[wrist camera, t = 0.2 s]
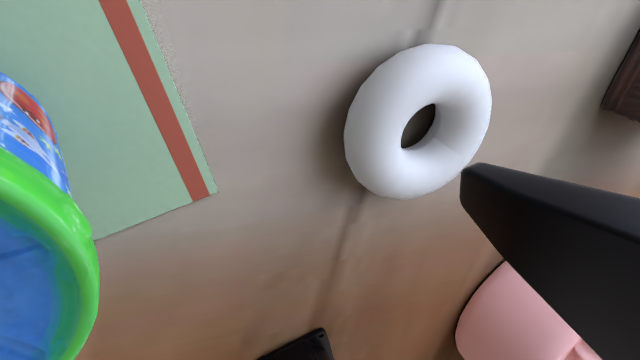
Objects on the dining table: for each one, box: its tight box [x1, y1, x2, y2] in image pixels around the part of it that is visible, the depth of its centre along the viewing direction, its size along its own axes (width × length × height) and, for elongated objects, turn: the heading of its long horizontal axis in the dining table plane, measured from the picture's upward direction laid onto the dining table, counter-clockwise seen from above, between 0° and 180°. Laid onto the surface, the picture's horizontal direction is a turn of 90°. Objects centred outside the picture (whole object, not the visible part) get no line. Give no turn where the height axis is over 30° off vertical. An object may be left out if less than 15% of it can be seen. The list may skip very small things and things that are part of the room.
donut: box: [344, 43, 492, 200], centre depth 25 cm, size 10×3×10 cm
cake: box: [455, 261, 602, 360], centre depth 43 cm, size 20×20×14 cm
